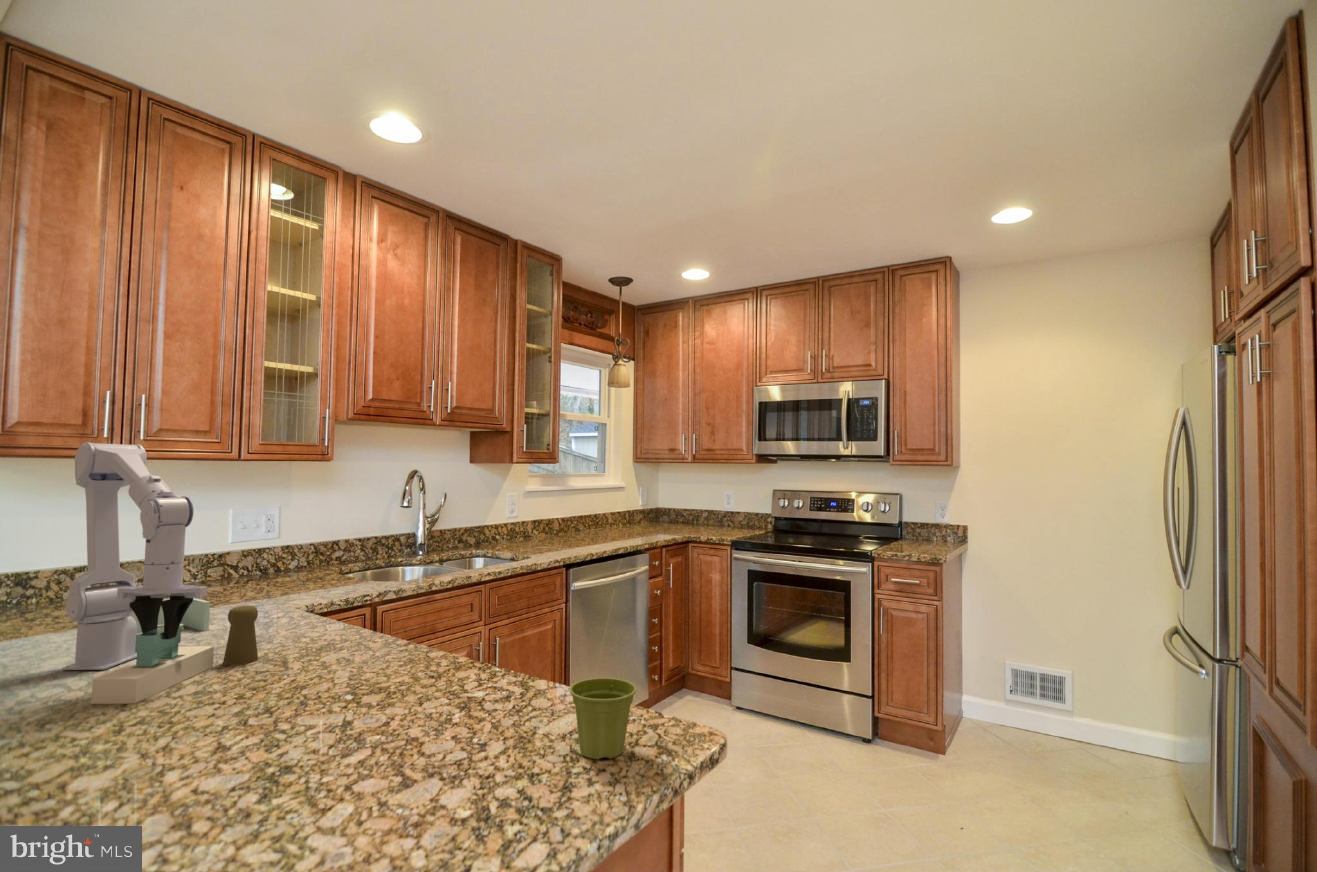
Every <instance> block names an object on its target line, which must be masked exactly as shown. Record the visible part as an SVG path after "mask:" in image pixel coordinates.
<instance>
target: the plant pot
mask: <svg viewBox="0 0 1317 872" xmlns="http://www.w3.org/2000/svg"><path fill="white" fill-rule="evenodd" d="M637 691H638V689H637V686H636V684H635V683H632V682H631V681H628V680H626V679H622V678H616V677H595V678H588V679H587V678H586V679H583V680H579V681H576V682H574V683H572V684H571V685H570V687H569V694H570V695H571V696H572V701H573V704H574V706H575V715H576V716H575V717H576V725H577V735H578V743H579V744H578V746H579V751H580V754H581V755H582V756H583V757H586V758H589V759H592V760H600V759H602V758H608V759H613V758H616V757H618V756H620V755H622V753H623V752H624V750H625V749H624V748H625V742H626V736H627V730H628V723H629V718H630V717H629V716H630V711H631V705H632V703H633V701H634V695H635V694H636V693H637Z"/></svg>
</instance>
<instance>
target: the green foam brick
mask: <svg viewBox="0 0 1317 872" xmlns="http://www.w3.org/2000/svg"><path fill="white" fill-rule="evenodd" d="M181 635H182V631H181V626H179V629H178V632H177V635H176V637H174V638H171V639H165V638H164V627H161V628H158V629H155V630H152V631H149V632H146V633H139V634H137V636H136V644H135V653H136V654H137V658H136V662H135V663H136V667H153V666H155V665H158V659H173V658H175V657H178V647H179V644H180V643H181V641H182V640H181V639H182V638H181V637H182V636H181Z"/></svg>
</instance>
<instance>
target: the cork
mask: <svg viewBox="0 0 1317 872" xmlns="http://www.w3.org/2000/svg"><path fill="white" fill-rule="evenodd" d="M258 615H259V611H258V608H257V607H256V606H253V605H239V606H235V607H233V608H231V609H230V610H229V611H228V614H227V620H228V622H229V625H230V626H229V627H230V628H229V631H228V636H227V641H226V646H225V651H224V657H223V661H222V664H223V665H225V666H241V665H246V664H252V663H253V662H254V663H255V662H256V661H258V660H259V655H258V646H257V645H258V644H257V635H256V627H255V626H256V625H255V624H256V623H255V621H256V620H257V619H258Z"/></svg>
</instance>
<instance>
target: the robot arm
mask: <svg viewBox="0 0 1317 872" xmlns="http://www.w3.org/2000/svg"><path fill="white" fill-rule="evenodd" d="M147 456H148V455H147V452H146V450H145V448H144V447H143V446H142V444H139V443H136V444H120V443H119V444H118V443H97V442H96V443H95V442H94V443H93V442H89V441H87V442H86V441H85V442H83V443H82V444H81V445H80V446H79V447H78V448H77V451H76V454H75V455H74V478H75V485H77V486H78V487H81V488H83V489H84V492H85V508H86V509H85V510H86V513H85V514H86V515H85V516H86V517H85V518H86V551H87V552H86V553H87V555H86V557H87V570H86V571H85V572H84V573H82V574H81V575H80V576H77V577H76V578H75V579H73V581H72V582H71V583H70V584H69V586H68V595H67V598H66V601H65V602H66V605H65V607H66V608H65V609H66V614H67V616H68V618H69V619H70V620H71V621H72V622H74V623H75V622H76V623H77V626H76V627H77V629H76V644H75V658H74V663H72V664H69V665H65V666H63V667H61V671H102V670H103V671H104V670H107V669H110V668H112V667H115V666H118V665H121V664H123V663H126V662H128V661H132V660H134V659H137V653H135V644H136V636H137V635H138V633H137V623H136V621H135V619H134V618H133V617H131V616H130V613H131V612H134V613H135V615H136V617H137V619H138V621H139V623H140V626H141V629H142V632H141V634H143V633H146V632H149V631H152V630H155V629H157V626H158V616H159V611H160V607H161V606H162V610H163V614H164V638H165V639H171V638H174V637H176V635H177V632H178V629H179V626H180V623H181V621H182V618H183V616H184V614H185V613H186V611H187V609H188V608H189V606H190V605H191V603H192V602H193V598H195V599H202V598H207V597H208V585H191V584H183V583H184V582H183V581H184V580H183V579H184V566H185V565H184V562H185V545H186V543H185V542H186V531H187V530H186V528H187V527H189V526H191V524H192V522H193V519H194V518H193V517H194V504H193V502H192V500H191V499H190V497H189V496H187V495H183V496H182V495H177V494H175V492H174V491H173V489H172V488H170V486H169V485H168V484H167V483H166V482H165V480H163V478H162V477H161V476H160V475H152V474H151V473H150V471H149V469H148V467H147V459H148V458H147ZM126 486H129V487H128V489H127V490H128V496H129V498H130V499H131V500H132V501H133V502H134V504H136V506H137V507H138V509H139V510H140V515H139V518H140V519H139V520H140V523H141V527H142V539H145V545H144V546H145V548H144V549H145V550H144V552H145V553H144V564H143V565H144V566H143V583H142V585H136V578H135V575H134V574H132V573H131V572H129V571H126V570H124V569H123V568H121V567H120V566H121V565H120V533H119V532H120V530H119V527H120V526H119V502H118V501H119V497H118V492H119V491H120V490H121V488H123V487H126ZM103 584H104V585H103ZM105 584H106V585H105ZM107 584H109V585H107ZM95 585H96V586H95ZM97 585H100V586H97ZM91 586H92V587H91ZM164 599H170V600H165V601H163V600H164Z"/></svg>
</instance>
